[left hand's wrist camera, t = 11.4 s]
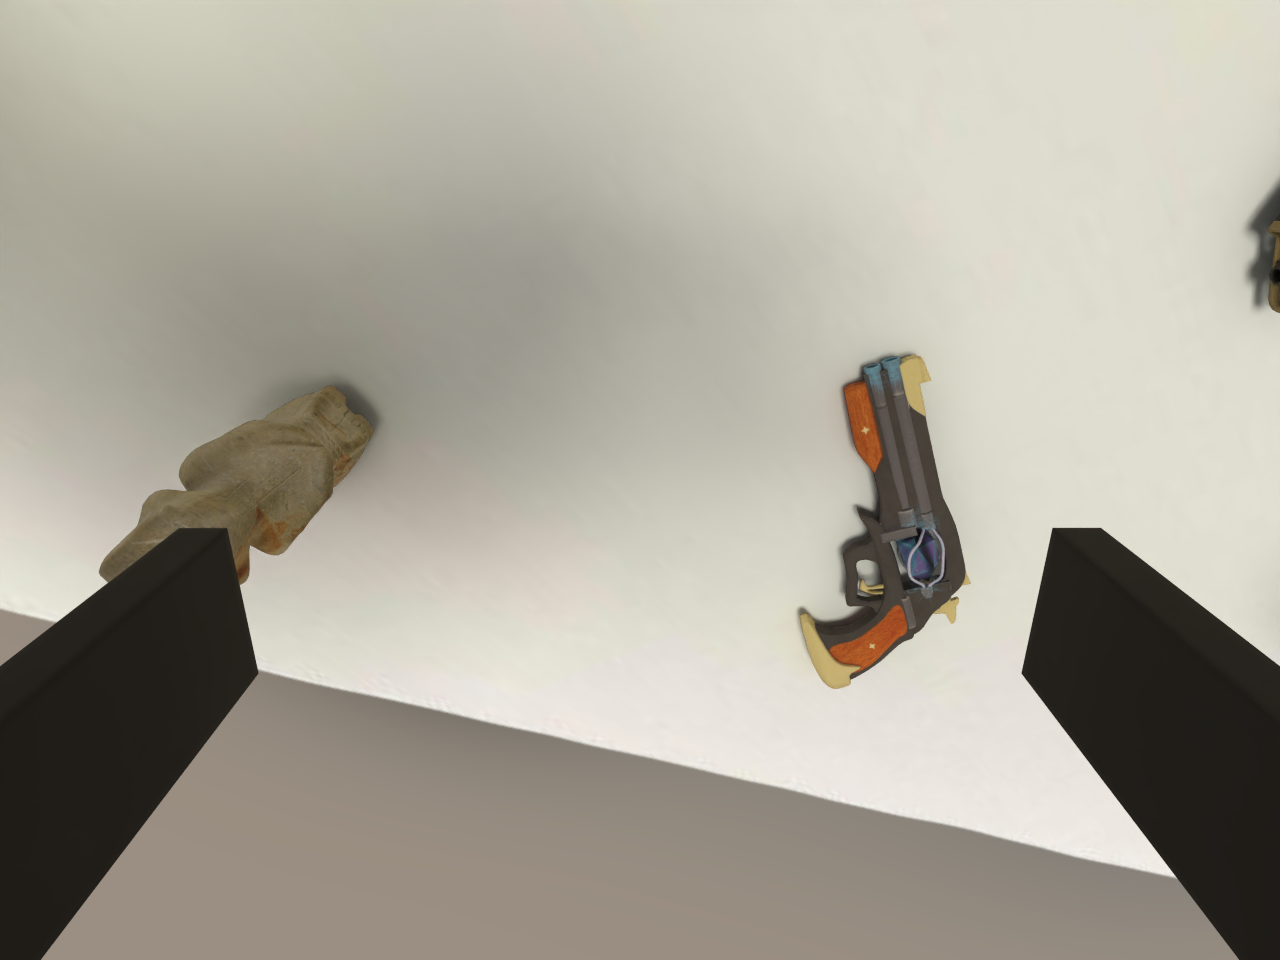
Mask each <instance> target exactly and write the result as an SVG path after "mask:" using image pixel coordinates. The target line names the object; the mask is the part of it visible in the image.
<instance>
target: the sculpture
mask: <svg viewBox="0 0 1280 960" xmlns="http://www.w3.org/2000/svg"><path fill="white" fill-rule="evenodd" d="M346 401H347V399H346V398H345V396H344V395H343V394H342V393H341V392H339V391H338V390H337V389H336V388H335V387H334V386H332V385H329V386H326V387H324V388H323V389H321V390H319V391H318V392H314V393H310V394H307V395H304V396H302V397H299V398H297V399H294V400H292V401H291V402H289V403H287V404H285V405H283V406H282V407H280V408H278V409H276V410H275V411H273V412H272V413H270V414H269V415H268V416H267V417H266V418H264V419H263V420H254V421H250V422H247V423H245V424H243V425H241V426H239V427H237V428H235V429H233V430H231V431H229V432H228V433H226V434H224V435H223V436H221V437H219V438H217V439H215V440H213V441H210V442H208V443H206V444H204V445H202V446H200V447H199V448H197V449H195V450H194V451H193V452H191V453H190V454H189V455H188V457H187V458H186V459H185V460H184V462H183V463H182V465H181V467H180V471H179V478H180V480H181V482H182V484H183V485H184V487H185V488H186V490H187V491H178V490H160V491H157V492H154V493H153V494H152V495H150V496H149V497H148V499H147V500H146V501H145V503H144V504H143V506H142V511H141V515H140V519H139V522H138V525H137V527H136V528H135V529H134V530H133V531H132V532H131V533H130V534H129V535H128V536H126V537H125V538H124V539H123V540H122V541H121V542H120V543H119V544H118V545H117V546H116V547H115V548H114V549H113V550H112V551H111V552H110V553H109V554H108V555H107V556H106V557H105V559H104V560H103V562H102V564H101V566H100V570H99V574H100V576H101V577H103V578H104V579H105V580H106V581H107V582H108V583H109V582H110V581H111V580H112V579H114V578H115V577H116V576H118V575H119V574H120V573H122V572H123V571H124V570H125V569H127V568H128V567H129V566H131V565H132V564H133V563H134V562H136V561H137V560H138V559H140V558H141V557H142V556H144V555H145V554H146V553H147V552H149V551H150V550H151V549H153V548H154V547H155V546H156V545H158V544H159V543H160V542H162V541H163V540H164V539H166V538H167V537H168V536H169V535H171V534H172V533H173V532H175V531H176V530H177V529H178V528H227V529H228V533H229V538H230V543H231V547H232V552H233V557H234V561H235V566H236V571H237V576H238V580H239V585H241V584H243V583H244V582H245V581H246V580H247V578H248V576H249V570H250V566H249V549H250V545H251V546H253V547H255V548H257V549H258V550H260V551H262V552H264V553H267V554H270V555H280V554H282V553H283V552H285V551H286V550H287V549H288V547H289V546H290V545H291V543H292V542H293V541H294V540H295V538H296V537H297V536H298V535H299V534H300V533H301V532H302V531H303V530H304V528H305V527H306V525H307V524H308V523H309V521H310V520H311V519H312V518H313V516H314V515H315V514H316V513H317V512H318V511H319V510H320V509H321V507H322V506H323V505H324V503H325V502H326V501H327V500H328V499H329V498H330V497H331V495H332V493H333V487H335V486H336V485H337V484H338V483H339V482H340V481H341V480H342V479H343V478H344V477H345V476H346V475H347V474H348V473H349V471H350V470H351V469H352V468H353V466H354V465H355V463H356V462H357V460H358V459H359V457H360V456H361V454H362V452H363V450H364V448H365V446H366V444H367V442H368V441H369V439H370V438H371V436H372V434H373V428H372V427H371V425H370V424H369V423H368V421H367V420H366V419H365V418H364V417H363V416H362V415H360V414H353V413H352V412H351V411H350V410H349V409H348V408H347V407H346Z"/></svg>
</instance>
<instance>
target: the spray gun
mask: <svg viewBox="0 0 1280 960" xmlns="http://www.w3.org/2000/svg"><path fill="white" fill-rule="evenodd" d="M1267 231H1268V232H1269V233H1270V234H1272V235H1273V236H1275V237H1276V242H1275V250H1274V258H1273V266H1272V270H1271V272H1270V280H1271V282H1270V290H1269V305H1270V306H1271V308H1272V309H1273V310H1274V311H1276V312H1278V313H1280V296H1279V295H1280V215H1279V216H1278V217H1277V221H1273V223H1272V224H1271V225H1270V227H1269V228H1268V230H1267Z"/></svg>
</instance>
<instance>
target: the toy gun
mask: <svg viewBox="0 0 1280 960" xmlns="http://www.w3.org/2000/svg"><path fill="white" fill-rule="evenodd" d="M881 363H882V367H883V368H882V367H881V364H879V363H876V364H871V365H868V366H866V367H864V368H863V369H864V373H862V374H863V379H864V380H863V381H859V382H856V383H852V384H849V385H848V386H846V387H845V388H844V392H845V398H846V403H847V409H848V414H849V419H850V424H851V429H852V433H853V438H854V443H855V446H856V449H857V451H858V453H859V455H860V456H861V457H862V459H863V460H864V461H865V462H866V464H867V465H868V466H869V467H870V469H871V470H872V471H873V472H874V476H875V480H876V484H877V488H878V492H879V500H880V509H879V516H878V517H877V516H876V515H874V514H872V513H870V512H868V511H866V510H863V509H860V508H858V509H857V510H858V513H859V516H860V518H861V520H862V521H863V522H864V524H865V525H866V527H867V528H868V530H869V532H870V535H871V536H870V537H869V538H868V539H867V540H865V541H861V542H856V543H854V544H852V545H850V546H849V547H848V548H847V549H846V550H845V552H844V554H843V558H844V562H845V566H846V571H847V586H846V595H845V598H846V603H847V605H848V606H868V607H871V608H873V609H872V610H871V611H870V612H868V613H867V614H866V615H864V616H863V617H861V618H860V619H858V620H856V621H855V622H853V623H851V624H848V625H845V626H834V627H826V626H821V625H819V624H816V623H815V621H814V620H813V619H812V617H811V616H810V615H809V614H803V615H801V616H800V620H801V625H802V629H803V633H804V637H805V641H806V644H807V648H808V651H809V654H810V657H811V660H812V662H813V665H814V667H815V669H816V671H817V673H818V675H819V676H820V678H821V679H822V681H823V682H824V683H825V684H826V685H827V686H829V687H831V688H833V689H838V688H842V687H846V686H848V685H850V683H851V679H853V678H855V677H857V676H859V675H860V674H862V673H864V672H866V671H867V670H869V669H870V668H872V667H873V666H875V665H876V664H877V663H879V662H880V661H881V660H882V659H884V658H885V657H886V656H887V655H888V654H889V653H890V652H891V651H892V650H893V649H895V648H896V647H897V646H898V645H899V644H901V643H902V642H904V641H907V640H909V639H912V638H913V636H914V634H916V633H917V632H919V631H920V630H921V629H922V628H923V627H924V625H925V624H926V622H927V621H928V619H929V618H930V616H931V615H932V614H933V613H934V614H938V613H944V614H946V616H947V617H948V619H949V621H950V622H951V624H953V623H954V621H955V620H956V606H957V605H958V602H959V599H958V597H954V598H951V596H952V595H953V594H954V593H955V592H956V591H957V590H958V589H959V588H960V587H961V586H962V585H966V584H970V580H969V578H968V576H967V573H966V571H965V564H964V559H963V554H962V549H961V545H960V540H959V536H958V532H957V529H956V525H955V523H954V520H953V518H952V515H951V513H950V511H949V509H948V507H947V505H946V503H945V501H944V499H943V496H942V492H941V488H940V483H939V478H938V474H937V469H936V464H935V460H934V455H933V450H932V446H931V441H930V437H929V432H928V427H927V422H926V414H925V408H924V403H923V398H922V393H921V388H920V383H923V382H927V381H930V380H931V378H930V376H929V373H928V371H927V368H926V366H925V363H924V361H923V359H922V358H921V357H920V356H919V357H917V356H916V355H912V356H908V357H905V358H903V359H901V360H900V357H898V356H896V357H890V358H886V359H884V360H882V361H881ZM920 528H922V529H920ZM934 528H936V529H937V531H938V533H939V534H938V533H937V532H936V531H935V529H934ZM927 529H932V531H933V532H934V534H935V535H936V536H937V538H938V539H939V541H940V543H941V547H942V563H941V574H940V575H935V576H932V574H933V572H934V570H935V568H936V566H937V564H938V562H939V560H940V555H939V552H938V549H937V546H936V543H935V540H934V539H933V537H932V536H931V534H930V533H929V532H928V530H927ZM895 540H896V542H897V544H898V547H899V549H898V555H899V558H900V561H901V563H902V565H903V566H904V567H905V569H906V570H907V571H908V575H909V578H910V579H911V580H912V581H907V582H903V583H902V580H901V576H900V571H899V568H898V564H897V561H896V557H895V554H894V552H893V549H892V546H891V544H890V541H895ZM901 554H902V556H901ZM902 557H903V559H904V561H903V559H902ZM865 559H866V560H870V561H874V562H876V563H878V564H879V567H880V571H881V575H882V580H883V584H878V585H871V586H868V585H866V584H865V582H864V580H863V579H861V581H860V585H859V588H860V590H862V591H864V592H867V593H870V594H881V595H877V596H872V597H864V596H860V595H857V584H858V573H857V568H856V563H857V562H858V561H860V560H865ZM904 562H905V563H904ZM913 577H914V578H917V579H916V580H915V579H914V578H913ZM881 588H882V590H880V591H870V589H881ZM950 598H951V599H950Z"/></svg>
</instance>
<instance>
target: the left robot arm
mask: <svg viewBox="0 0 1280 960" xmlns="http://www.w3.org/2000/svg"><path fill="white" fill-rule="evenodd" d="M257 675H258V669H257V664H256V660H255V655H254V650H253V646H252V641H251V636H250V632H249V627H248V622H247V618H246V613H245V608H244V604H243V599H242V594H241V590H240V585H239V580H238V576H237V571H236V566H235V561H234V557H233V552H232V547H231V543H230V538H229V533H228V529H227V528H178V529H177V530H176V531H175V532H173V533H172V534H171V535H169V536H168V537H167V538H166V539H164V540H163V541H162V542H160V543H159V544H158V545H156V546H155V547H154V548H153V549H151V550H150V551H149V552H147V553H146V554H145V555H144V556H142V557H141V558H140V559H138V560H137V561H136V562H134V563H133V564H132V565H131V566H129V567H128V568H127V569H125V570H124V571H123V572H122V573H120V574H119V575H118V576H116V577H115V578H114V579H112V580H111V581H110V582H109V583H107V584H106V585H105V586H103V587H102V588H101V589H100V590H98V591H97V592H96V593H94V594H93V595H92V596H91V597H89V598H88V599H87V600H85V601H84V602H83V603H81V604H80V605H79V606H78V607H76V608H75V609H74V610H72V611H71V612H70V613H69V614H67V615H66V616H65V617H63V618H62V619H61V620H59V621H58V622H57V623H56V624H54V625H53V626H52V627H50V628H49V629H48V630H47V631H45V632H44V633H43V634H41V635H40V636H39V637H37V638H36V639H35V640H34V641H32V642H31V643H30V644H28V645H27V646H26V647H25V648H23V649H22V650H21V651H19V652H18V653H17V654H16V655H14V656H13V657H12V658H10V659H9V660H8V661H6V662H5V663H4V664H3V665H1V666H0V960H41V959H42V957H43V956H44V955H45V953H46V952H47V951H48V949H49V948H50V947H51V945H52V944H53V943H54V942H55V940H56V939H57V938H58V936H59V935H60V934H61V932H62V931H63V930H64V928H65V927H66V926H67V924H68V923H69V922H70V921H71V919H72V918H73V917H74V915H75V914H76V913H77V911H78V910H79V909H80V907H81V906H82V905H83V903H84V902H85V901H86V900H87V898H88V897H89V896H90V894H91V893H92V892H93V890H94V889H95V888H96V886H97V885H98V884H99V882H100V881H101V880H102V878H103V877H104V876H105V875H106V873H107V872H108V871H109V869H110V868H111V867H112V865H113V864H114V863H115V861H116V860H117V859H118V857H119V856H120V855H121V853H122V852H123V851H124V850H125V848H126V847H127V846H128V844H129V843H130V842H131V840H132V839H133V838H134V836H135V835H136V834H137V832H138V831H139V830H140V829H141V827H142V826H143V825H144V823H145V822H146V821H147V819H148V818H149V817H150V815H151V814H152V813H153V811H154V810H155V809H156V807H157V806H158V805H159V804H160V802H161V801H162V800H163V798H164V797H165V796H166V794H167V793H168V792H169V790H170V789H171V788H172V786H173V785H174V784H175V783H176V781H177V780H178V779H179V777H180V776H181V775H182V773H183V772H184V771H185V769H186V768H187V767H188V765H189V764H190V763H191V761H192V760H193V759H194V758H195V756H196V755H197V754H198V752H199V751H200V750H201V748H202V747H203V746H204V744H205V743H206V742H207V740H208V739H209V738H210V736H211V735H212V734H213V733H214V731H215V730H216V729H217V727H218V726H219V725H220V723H221V722H222V721H223V719H224V718H225V717H226V715H227V714H228V713H229V712H230V710H231V709H232V708H233V706H234V705H235V704H236V702H237V701H238V700H239V698H240V697H241V696H242V694H243V693H244V692H245V690H246V689H247V688H248V687H249V685H250V684H251V683H252V681H253V680H254V679H255V677H256V676H257ZM1022 675H1023V676H1024V677H1025V679H1026V680H1027V681H1028V683H1029V684H1030V685H1031V687H1032V688H1033V689H1034V690H1035V692H1036V693H1037V694H1038V696H1039V697H1040V698H1041V700H1042V701H1043V702H1044V704H1045V705H1046V706H1047V708H1048V709H1049V710H1050V712H1051V713H1052V714H1053V715H1054V717H1055V718H1056V719H1057V721H1058V722H1059V723H1060V725H1061V726H1062V727H1063V729H1064V730H1065V731H1066V733H1067V734H1068V735H1069V736H1070V738H1071V739H1072V740H1073V742H1074V743H1075V744H1076V746H1077V747H1078V748H1079V750H1080V751H1081V752H1082V754H1083V755H1084V756H1085V758H1086V759H1087V760H1088V761H1089V763H1090V764H1091V765H1092V767H1093V768H1094V769H1095V771H1096V772H1097V773H1098V775H1099V776H1100V777H1101V779H1102V780H1103V781H1104V783H1105V784H1106V785H1107V786H1108V788H1109V789H1110V790H1111V792H1112V793H1113V794H1114V796H1115V797H1116V798H1117V800H1118V801H1119V802H1120V804H1121V805H1122V806H1123V807H1124V809H1125V810H1126V811H1127V813H1128V814H1129V815H1130V817H1131V818H1132V819H1133V821H1134V822H1135V823H1136V825H1137V826H1138V827H1139V829H1140V830H1141V831H1142V832H1143V834H1144V835H1145V836H1146V838H1147V839H1148V840H1149V842H1150V843H1151V844H1152V846H1153V847H1154V848H1155V850H1156V851H1157V852H1158V854H1159V855H1160V856H1161V857H1162V859H1163V860H1164V861H1165V863H1166V864H1167V865H1168V867H1169V868H1170V869H1171V871H1172V872H1173V873H1174V875H1175V876H1176V877H1177V878H1178V880H1179V881H1180V882H1181V884H1182V885H1183V886H1184V888H1185V889H1186V890H1187V892H1188V893H1189V894H1190V896H1191V897H1192V898H1193V900H1194V901H1195V902H1196V903H1197V905H1198V906H1199V907H1200V909H1201V910H1202V911H1203V913H1204V914H1205V915H1206V917H1207V918H1208V919H1209V921H1210V922H1211V923H1212V924H1213V926H1214V927H1215V928H1216V930H1217V931H1218V932H1219V934H1220V935H1221V936H1222V938H1223V939H1224V940H1225V942H1226V943H1227V944H1228V945H1229V947H1230V948H1231V949H1232V951H1233V952H1234V953H1235V955H1236V956H1237V957H1238V959H1239V960H1280V666H1279V665H1277V664H1276V663H1275V662H1274V661H1272V660H1271V659H1270V658H1268V657H1267V656H1266V655H1265V654H1263V653H1262V652H1261V651H1259V650H1258V649H1257V648H1255V647H1254V646H1253V645H1252V644H1250V643H1249V642H1248V641H1246V640H1245V639H1244V638H1243V637H1241V636H1240V635H1239V634H1237V633H1236V632H1235V631H1233V630H1232V629H1231V628H1230V627H1228V626H1227V625H1226V624H1224V623H1223V622H1222V621H1221V620H1219V619H1218V618H1217V617H1215V616H1214V615H1213V614H1211V613H1210V612H1209V611H1208V610H1206V609H1205V608H1204V607H1202V606H1201V605H1200V604H1199V603H1197V602H1196V601H1195V600H1193V599H1192V598H1191V597H1189V596H1188V595H1187V594H1186V593H1184V592H1183V591H1182V590H1180V589H1179V588H1178V587H1177V586H1175V585H1174V584H1173V583H1171V582H1170V581H1169V580H1167V579H1166V578H1165V577H1164V576H1162V575H1161V574H1160V573H1158V572H1157V571H1156V570H1155V569H1153V568H1152V567H1151V566H1149V565H1148V564H1147V563H1146V562H1144V561H1143V560H1142V559H1140V558H1139V557H1138V556H1136V555H1135V554H1134V553H1133V552H1131V551H1130V550H1129V549H1127V548H1126V547H1125V546H1124V545H1122V544H1121V543H1120V542H1118V541H1117V540H1116V539H1114V538H1113V537H1112V536H1111V535H1109V534H1108V533H1107V532H1105V531H1104V530H1103V529H1102V528H1053V529H1052V533H1051V538H1050V543H1049V547H1048V552H1047V557H1046V561H1045V566H1044V571H1043V576H1042V580H1041V585H1040V590H1039V594H1038V599H1037V604H1036V608H1035V613H1034V618H1033V622H1032V627H1031V632H1030V636H1029V641H1028V646H1027V650H1026V655H1025V660H1024V664H1023V669H1022Z"/></svg>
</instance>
